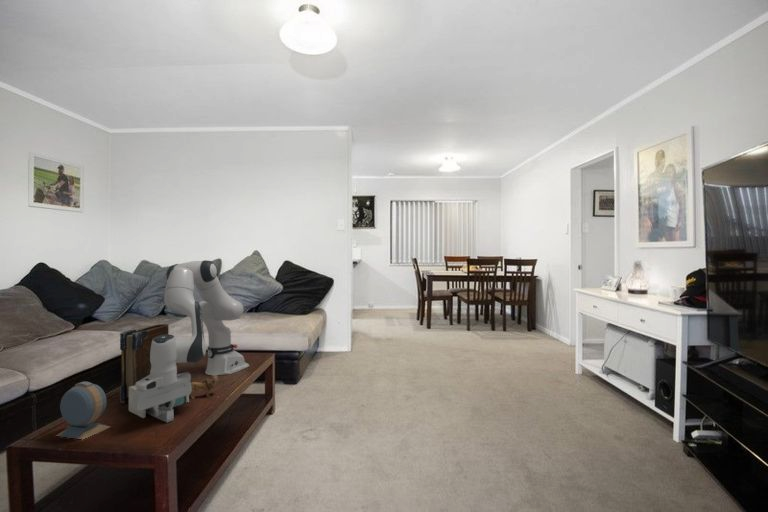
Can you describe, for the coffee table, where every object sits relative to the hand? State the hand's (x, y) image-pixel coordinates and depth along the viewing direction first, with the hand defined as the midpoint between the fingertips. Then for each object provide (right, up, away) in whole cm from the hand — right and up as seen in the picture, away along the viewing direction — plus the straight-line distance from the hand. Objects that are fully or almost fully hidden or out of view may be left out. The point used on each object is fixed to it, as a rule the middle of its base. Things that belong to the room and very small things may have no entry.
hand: (163, 413), depth 137 cm
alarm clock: (-23, -2, -10) cm, 25 cm away
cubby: (-9, -2, +12) cm, 15 cm away
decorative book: (-24, -2, +27) cm, 36 cm away
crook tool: (-2, -2, +4) cm, 5 cm away
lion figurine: (+3, -2, +22) cm, 23 cm away
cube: (-4, -2, +14) cm, 15 cm away
